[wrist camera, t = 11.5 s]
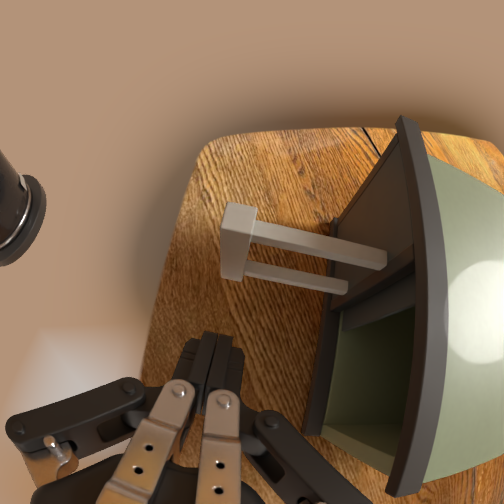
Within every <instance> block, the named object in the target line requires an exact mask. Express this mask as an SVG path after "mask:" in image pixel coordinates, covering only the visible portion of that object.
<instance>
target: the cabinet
mask: <svg viewBox="0 0 504 504" xmlns="http://www.w3.org/2000/svg"><path fill="white" fill-rule="evenodd" d="M395 126H396V130H397V134H398V139H399V143H400V148H401V153H402V158H403V163H404V168H405V174H406V180H407V186H408V193H409V200H410V208H411V217H412V227H413V239H414V254H415V271H413V272H411V273H410V274H408V275H406V276H405V277H403V278H401V279H400V280H398V281H396V282H394V283H393V284H391V285H389V286H387V287H386V288H384V289H382V290H380V291H379V292H377V293H375V294H373V295H371V296H370V297H368V298H366V299H364V300H362V301H360V302H358V303H357V304H355V305H353V306H351V307H349V308H347V309H345V310H343V311H341V312H333V311H330V306H331V301H332V294H333V293H328V292H324V298H323V307H322V315H321V322H320V330H319V337H318V343H317V350H316V356H315V363H314V369H313V374H312V380H311V386H310V391H309V396H308V402H307V407H306V412H305V416H304V421H303V426H302V430H301V433H302V434H304V435H305V436H321V437H323V438H324V439H326V440H328V441H329V442H331V443H332V444H334V445H335V446H337V447H339V448H340V449H342V450H344V451H345V452H347V453H348V454H350V455H352V456H353V457H355V458H357V459H359V460H360V461H362V462H364V463H366V464H367V465H369V466H371V467H373V468H375V469H376V470H378V471H380V472H382V473H384V474H386V475H388V476H389V479H388V483H387V486H386V489H385V492H386V493H387V494H389V495H391V496H392V497H394V498H397V497H402V496H406V495H410V494H414V493H418V492H419V491H420V489H421V486H422V483H426V482H429V481H433V480H436V479H440V478H443V477H446V476H449V475H453V474H456V473H458V472H461V471H464V470H467V469H469V468H472V467H475V466H477V465H480V464H482V463H485V462H487V461H489V460H491V459H494V458H496V457H498V456H500V455H502V454H504V195H503V194H501V193H500V192H498V191H497V190H495V189H493V188H492V187H490V186H488V185H487V184H485V183H483V182H481V181H480V180H478V179H476V178H474V177H472V176H471V175H469V174H467V173H465V172H463V171H461V170H459V169H457V168H455V167H454V166H452V165H450V164H448V163H445V162H443V161H441V160H439V159H437V158H435V157H433V156H431V155H429V154H427V152H426V148H425V145H424V141H423V138H422V135H421V132H420V129H419V126H418V123H417V122H416V121H413V120H411V119H409V118H407V117H404V116H402V115H400V117H399V118H398V120H397V122H396V123H395ZM337 220H338V218H335V217H334V218H333V220H332V221H331V222H330V235H329V237H333V238H337V231H338V227H337ZM334 273H335V260H331V259H328V260H327V270H326V277H331V278H334Z"/></svg>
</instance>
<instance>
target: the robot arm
mask: <svg viewBox="0 0 504 504" xmlns="http://www.w3.org/2000/svg"><path fill="white" fill-rule="evenodd" d="M32 204H33V194H32V190H31V188H30V187H29V185H28V184H27V183H26V182H25V180H24V178H23V176H22V175H21V174H20V173H19V175H18V173H17V172H16V171H15V169H14V168H13V166H12V165H11V164H10V162H9V161H8V160H7V159H6V157H5V156H4V154H3V153H2V152H1V150H0V251H1V250H3V249H5V248H7V247H8V246H9V245H11V244H12V243H13V242H14V241H15V240H16V238H17V237H18V236H19V235H20V233H21V232H22V230H23V228H24V227H25V225H26V223H27V221H28V218H29V216H30V213H31V209H32ZM217 339H218V341H217ZM232 341H233V337H232V336H227V335H222V334H219V337H218V333H213V332H209V331H204V333H203V336H202V338H201V340H199V339H195V338H191V339H190V340H189V341H188V342H186V343H185V346H184V348H183V351H182V353H181V356H180V358H179V361H178V364H177V366H176V369H175V371H174V374H173V376H172V379H171V380H170V381H168V382H167V383H166V384H165V385H163V386H160V387H144V385H143V383H142V382H141V381H139V380H138V379H135V378H132V377H125V378H121V379H119V380H116V381H114V382H111V383H108V384H106V385H103V386H100V387H98V388H95V389H92V390H90V391H87V392H84V393H81V394H79V395H76V396H73V397H70V398H67V399H64V400H61V401H58V402H55V403H52V404H49V405H46V406H43V407H40V408H37V409H34V410H30V411H27V412H24V413H20V414H17V415H13V416H12V417H10V418H9V419H8V420H7V422H6V426H5V430H6V433H7V435H8V437H9V438H10V439H11V441H12V442H13V443H14V444H15V446H16V447H17V449H18V450H19V451H20V452H21V454H22V456H23V459H24V461H25V464H26V466H27V468H28V470H29V473H30V474H31V477H32V479H33V481H34V483H35V485H36V487H37V490H36V491H35V492H34V493H33V495H32V498H31V502H30V504H265V502H264V501H263V500H262V499H261V497H260V496H259V495H258V494H257V492H256V491H255V490H254V489H253V488H252V487H250V486H249V485H248V484H246V483H245V482H243V481H241V450H242V451H243V453H244V455H245V456H246V458H247V459H248V460H249V461H250V463H251V464H252V465H253V466H254V468H255V469H256V470H257V471H258V472H259V474H260V475H261V476H262V477H263V478H264V480H265V481H266V482H267V483H268V484H269V486H270V487H271V488H272V489H273V490H274V491H275V492H276V493H277V495H278V496H279V497H280V498H281V499H282V500H283V501H284V502H285V503H286V504H373V503H372V502H371V501H370V500H369V499H368V498H367V497H366V496H364V495H363V494H362V493H361V492H360V491H359V490H358V489H357V488H355V487H354V486H353V485H352V484H351V483H350V482H349V481H348V480H347V479H346V478H344V477H343V476H342V475H341V474H340V473H339V472H338V471H337V470H336V469H335V468H334V467H333V466H332V465H331V464H330V463H329V462H328V461H327V460H326V459H325V458H324V457H323V456H322V455H320V454H319V453H318V452H317V451H316V450H315V448H314V447H313V446H312V445H311V444H310V443H309V442H308V441H307V440H306V439H305V438H304V437H303V436H302V435H301V434H300V433H299V432H298V431H297V430H296V429H295V428H294V427H293V426H292V425H291V423H290V422H289V421H288V420H287V419H286V418H285V417H284V416H283V415H282V414H280V413H279V412H277V411H273V410H264V411H261V412H260V413H259V412H257V411H255V410H252V409H250V408H249V407H247V406H246V405H245V404H244V403H243V402H242V400H241V398H240V390H241V383H242V375H243V367H244V360H245V355H244V353H243V351H242V349H241V348H236V347H232ZM203 402H204V403H203ZM202 406H203V410H202ZM201 410H202V415H205V418H204V425H203V431H202V439H201V447H200V455H199V464H198V468H187V467H182V466H180V465H179V462H180V457H181V454H182V451H183V449H184V446H185V443H186V441H187V438H188V435H189V433H190V430H191V427H192V424H193V421H194V418H195V414H201ZM131 437H132V439H131V441H130V443H129V445H128V446H127V448H126V450H125V452H124V453H123V454H117V455H114V456H111V457H109V458H107V459H104V460H102V461H100V462H98V463H96V464H94V465H91V466H89V467H87V468H85V469H82V470H80V471H78V472H75V473H73V474H71V473H72V472H74V471H75V470H76V469H77V467H78V464H79V461H78V460H79V459H81V458H84V457H86V456H89V455H91V454H94V453H96V452H99V451H101V450H104V449H106V448H108V447H111V446H113V445H115V444H117V443H120V442H122V441H124V440H126V439H128V438H131ZM69 474H70V475H69Z"/></svg>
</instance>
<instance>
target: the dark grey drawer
mask: <svg viewBox="0 0 504 504" xmlns="http://www.w3.org/2000/svg"><path fill="white" fill-rule="evenodd" d="M257 210H258V209H257V208H256V207H252V206H247V205H242V204H238V203H233V202H227V203H226V207H225V210H224V214H223V218H222V221H221V225H220V263H221V278H225V279H229V280H234V281H239V282H242V279H243V275H245V276H250V277H255V278H259V279H264V280H269V281H274V282H279V283H283V284H288V285H293V286H298V287H303V288H308V289H313V290H318V291H323V292H328V293H333V294H332V301H331V306H330V311H333V312H341V311H343V310H345V309H347V308H349V307H351V306H353V305H355V304H357V303H358V302H360V301H362V300H364V299H366V298H368V297H370V296H371V295H373V294H375V293H377V292H379V291H380V290H382V289H384V288H386V287H387V286H389V285H391V284H393V283H394V282H396V281H398V280H400V279H401V278H403V277H405V276H406V275H408V274H410V273H411V272H413V271H415V254H414V239H413V227H412V217H411V208H410V200H409V193H408V186H407V180H406V174H405V168H404V163H403V158H402V153H401V148H400V143H399V139H398V134H397V133H396V134H395V136H394V138H393V139H392V141H391V142H390V144H389V145H388V147H387V148H386V150H385V151H384V153H383V154H382V156H381V157H380V159H379V160H378V162H377V163H376V165H375V166H374V168H373V169H372V171H371V172H370V174H369V175H368V177H367V178H366V180H365V181H364V182H363V184H362V185H361V187H360V188H359V190H358V191H357V193H356V194H355V195H354V197H353V198H352V200H351V201H350V203H349V204H348V205H347V207H346V208H345V210H344V211H343V212H342V214H341V215H340V217H339V218H338V220H337V227H338V231H337V238H333V237H329V236H324V235H320V234H316V233H312V232H307V231H303V230H299V229H294V228H290V227H285V226H281V225H277V224H272V223H267V222H263V221H258V220H256V215H257ZM251 242H253V243H258V244H262V245H267V246H272V247H276V248H281V249H285V250H290V251H295V252H299V253H304V254H308V255H313V256H317V257H322V258H326V259H331V260H335V273H334V278H331V277H326V276H321V275H317V274H312V273H307V272H302V271H298V270H293V269H288V268H283V267H279V266H274V265H269V264H265V263H260V262H255V261H251V260H247V256H248V252H249V247H250V243H251Z"/></svg>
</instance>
